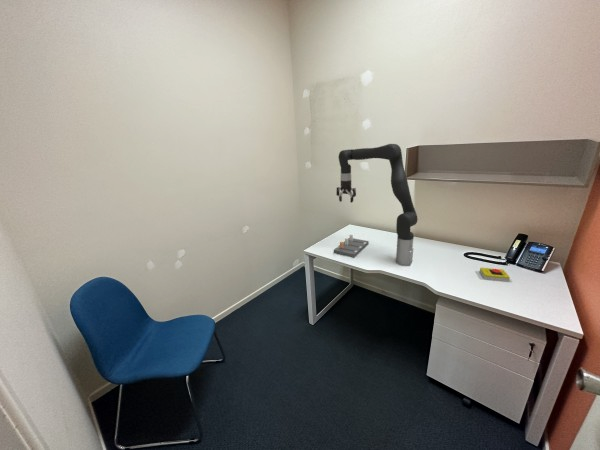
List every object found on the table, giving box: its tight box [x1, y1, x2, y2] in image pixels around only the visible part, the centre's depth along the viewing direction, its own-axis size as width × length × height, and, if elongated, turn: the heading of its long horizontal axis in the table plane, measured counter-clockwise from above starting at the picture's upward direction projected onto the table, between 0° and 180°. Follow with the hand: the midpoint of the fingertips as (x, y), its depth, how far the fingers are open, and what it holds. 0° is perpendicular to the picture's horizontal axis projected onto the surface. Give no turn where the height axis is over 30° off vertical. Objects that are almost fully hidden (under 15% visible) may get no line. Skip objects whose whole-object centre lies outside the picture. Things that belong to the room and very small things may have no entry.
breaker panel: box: [333, 234, 370, 259], centre depth 184 cm, size 16×26×7 cm, turn 144°
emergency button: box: [474, 267, 513, 283], centre depth 139 cm, size 9×4×15 cm
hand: (346, 201), depth 181 cm, fingers open, 8 cm apart
